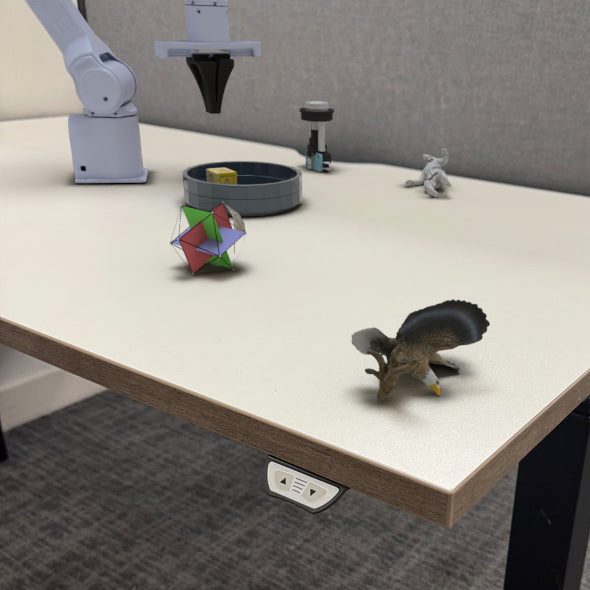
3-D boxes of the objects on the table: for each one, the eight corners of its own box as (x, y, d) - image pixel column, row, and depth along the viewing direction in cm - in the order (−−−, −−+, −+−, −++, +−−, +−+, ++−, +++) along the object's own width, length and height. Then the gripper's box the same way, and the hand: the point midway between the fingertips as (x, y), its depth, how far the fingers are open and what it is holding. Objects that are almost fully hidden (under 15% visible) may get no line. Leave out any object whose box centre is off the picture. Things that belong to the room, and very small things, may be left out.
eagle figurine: (446, 412, 52) (510, 348, 58) (391, 320, 51) (464, 263, 57) (374, 430, 58) (439, 370, 64) (323, 348, 56) (395, 294, 62)
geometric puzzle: (195, 267, 74) (227, 190, 74) (143, 253, 77) (175, 178, 77) (239, 295, 80) (268, 223, 81) (190, 280, 83) (218, 211, 84)
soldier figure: (409, 204, 112) (394, 161, 120) (430, 224, 115) (414, 180, 123) (452, 168, 109) (433, 126, 117) (472, 189, 112) (453, 147, 120)
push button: (344, 172, 124) (344, 105, 120) (314, 175, 122) (313, 106, 117) (323, 164, 129) (323, 99, 124) (294, 167, 126) (293, 100, 122)
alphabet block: (227, 189, 109) (225, 166, 107) (238, 193, 106) (237, 170, 105) (206, 191, 107) (205, 168, 105) (217, 196, 105) (216, 173, 103)
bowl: (184, 219, 96) (181, 186, 94) (185, 190, 109) (182, 160, 107) (308, 217, 100) (308, 185, 98) (295, 189, 113) (294, 160, 111)
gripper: (243, 5, 112) (248, 106, 118) (142, 2, 104) (153, 111, 110) (266, 7, 107) (269, 113, 113) (161, 4, 99) (171, 118, 105)
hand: (213, 112), depth 111 cm, fingers closed
